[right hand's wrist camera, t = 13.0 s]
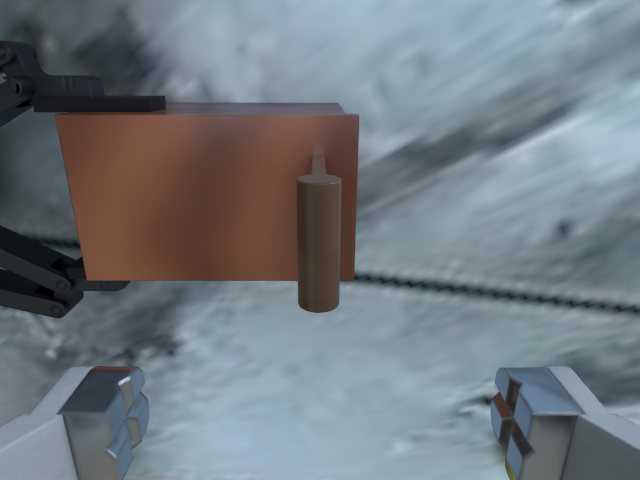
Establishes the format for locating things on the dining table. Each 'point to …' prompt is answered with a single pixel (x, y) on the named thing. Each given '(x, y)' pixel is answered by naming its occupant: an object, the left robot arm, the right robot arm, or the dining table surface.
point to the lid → (215, 197)
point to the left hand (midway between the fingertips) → (167, 189)
